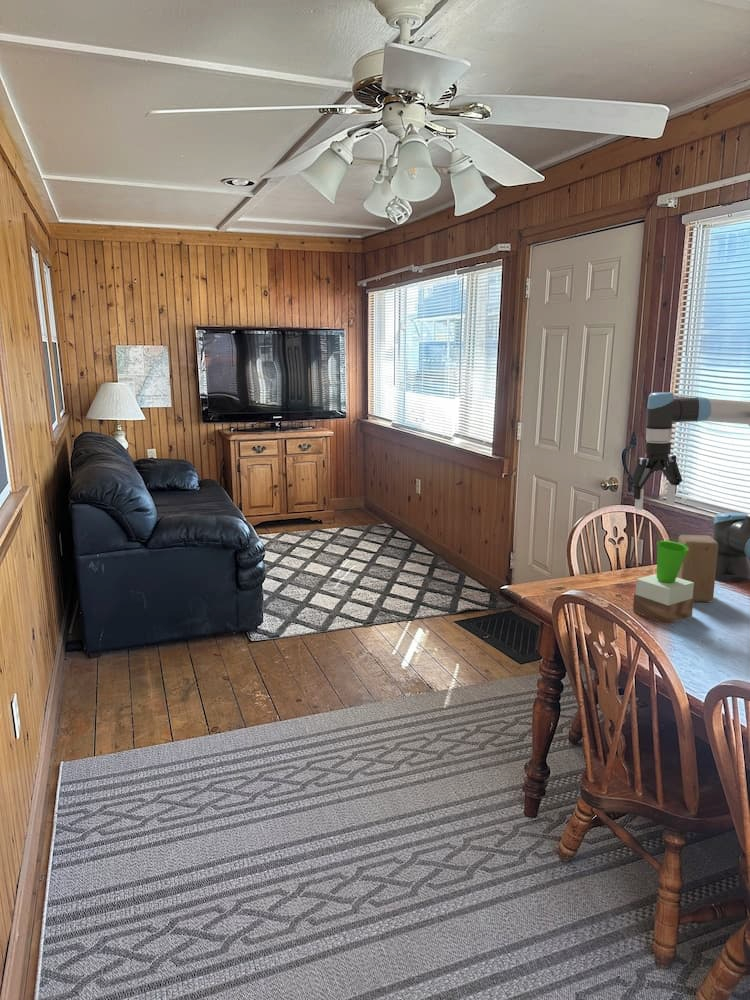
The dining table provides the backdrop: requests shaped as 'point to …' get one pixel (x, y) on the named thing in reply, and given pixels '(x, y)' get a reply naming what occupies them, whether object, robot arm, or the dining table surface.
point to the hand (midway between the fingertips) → (654, 506)
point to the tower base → (663, 609)
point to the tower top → (664, 590)
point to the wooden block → (699, 565)
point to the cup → (669, 560)
